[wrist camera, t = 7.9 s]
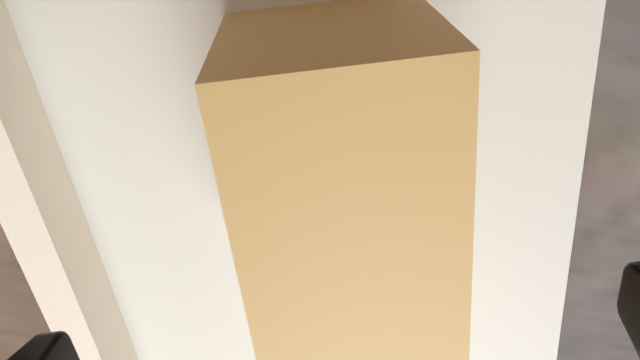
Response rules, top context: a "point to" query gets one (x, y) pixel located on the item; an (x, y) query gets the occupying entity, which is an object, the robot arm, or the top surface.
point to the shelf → (199, 183)
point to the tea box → (347, 176)
